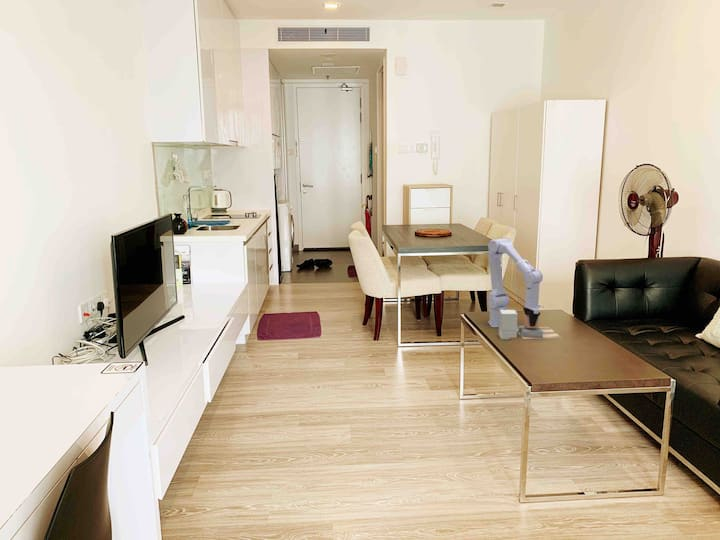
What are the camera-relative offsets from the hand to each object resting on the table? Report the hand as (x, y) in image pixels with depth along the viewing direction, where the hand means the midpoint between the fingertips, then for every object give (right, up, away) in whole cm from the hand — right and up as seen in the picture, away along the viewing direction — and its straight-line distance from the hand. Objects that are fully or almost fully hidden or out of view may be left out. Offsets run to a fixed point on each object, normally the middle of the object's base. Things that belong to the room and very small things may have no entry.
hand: (530, 324), depth 261 cm
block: (0, -1, 0) cm, 1 cm away
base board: (+4, -5, +4) cm, 8 cm away
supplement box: (-11, -6, 0) cm, 13 cm away
